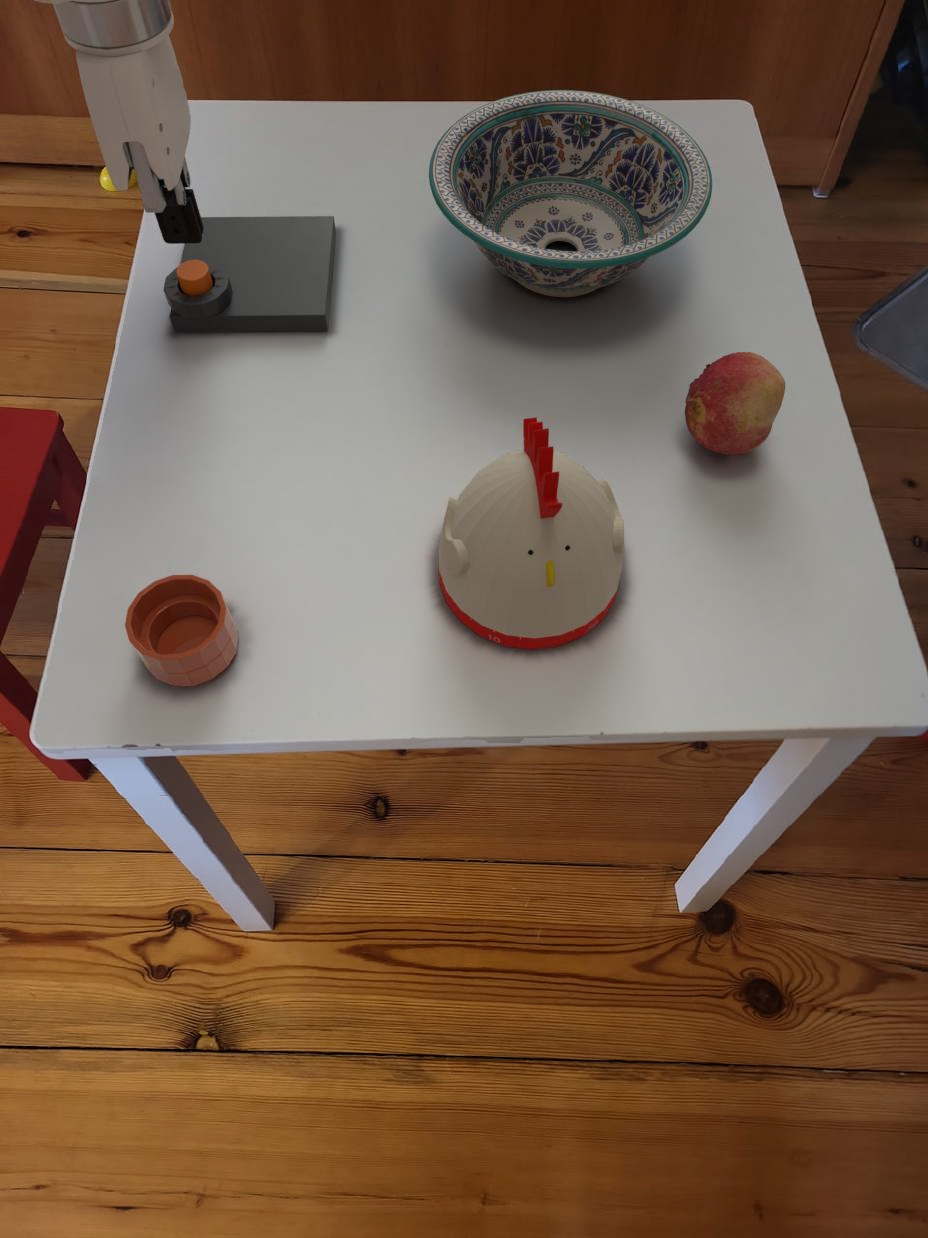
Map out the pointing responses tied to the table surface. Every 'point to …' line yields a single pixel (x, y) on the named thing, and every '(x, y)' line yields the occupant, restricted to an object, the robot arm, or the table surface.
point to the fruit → (734, 403)
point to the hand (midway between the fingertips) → (184, 236)
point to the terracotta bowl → (182, 630)
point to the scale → (258, 276)
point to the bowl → (569, 186)
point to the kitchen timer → (532, 548)
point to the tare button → (194, 277)
